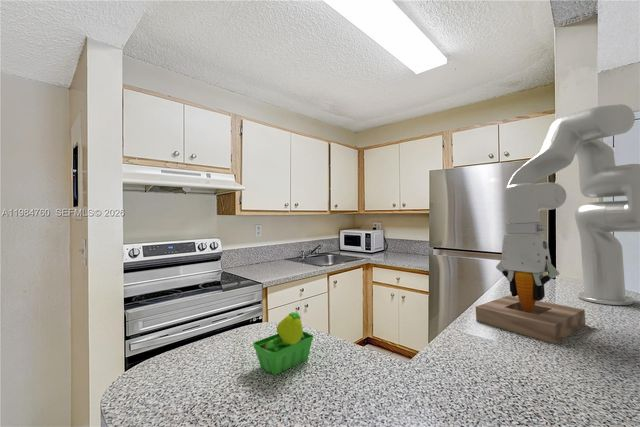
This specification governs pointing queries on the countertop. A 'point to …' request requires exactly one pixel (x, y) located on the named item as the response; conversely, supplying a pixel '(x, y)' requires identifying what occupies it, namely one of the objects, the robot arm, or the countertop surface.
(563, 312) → the socket block
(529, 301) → the carrot
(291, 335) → the fruit basket
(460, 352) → the countertop surface
